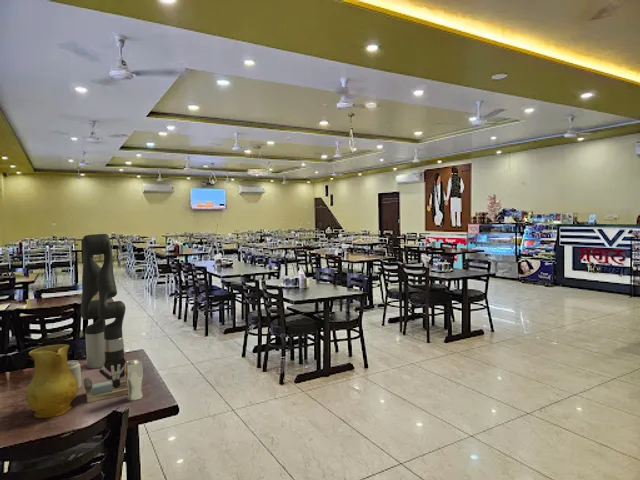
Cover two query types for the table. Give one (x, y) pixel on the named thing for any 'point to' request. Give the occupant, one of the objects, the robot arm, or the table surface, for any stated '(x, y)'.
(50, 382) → the pitcher
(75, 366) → the can
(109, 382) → the pale teal block
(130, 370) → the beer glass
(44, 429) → the table surface
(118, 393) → the bay
